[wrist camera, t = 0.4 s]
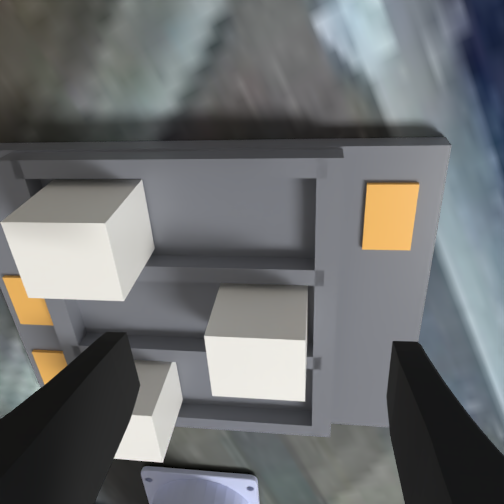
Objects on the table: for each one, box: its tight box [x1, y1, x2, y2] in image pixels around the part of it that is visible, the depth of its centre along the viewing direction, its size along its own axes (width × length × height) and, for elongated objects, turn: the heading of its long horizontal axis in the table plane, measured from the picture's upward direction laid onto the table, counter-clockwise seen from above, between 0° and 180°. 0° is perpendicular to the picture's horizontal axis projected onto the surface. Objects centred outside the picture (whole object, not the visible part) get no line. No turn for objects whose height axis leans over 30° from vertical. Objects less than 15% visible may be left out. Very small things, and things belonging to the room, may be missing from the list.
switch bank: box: [0, 137, 451, 437], centre depth 23 cm, size 16×21×2 cm
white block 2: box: [114, 360, 183, 463], centre depth 24 cm, size 3×4×4 cm
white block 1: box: [1, 179, 155, 301], centre depth 19 cm, size 3×4×4 cm
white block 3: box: [204, 283, 308, 402], centre depth 21 cm, size 3×4×4 cm
